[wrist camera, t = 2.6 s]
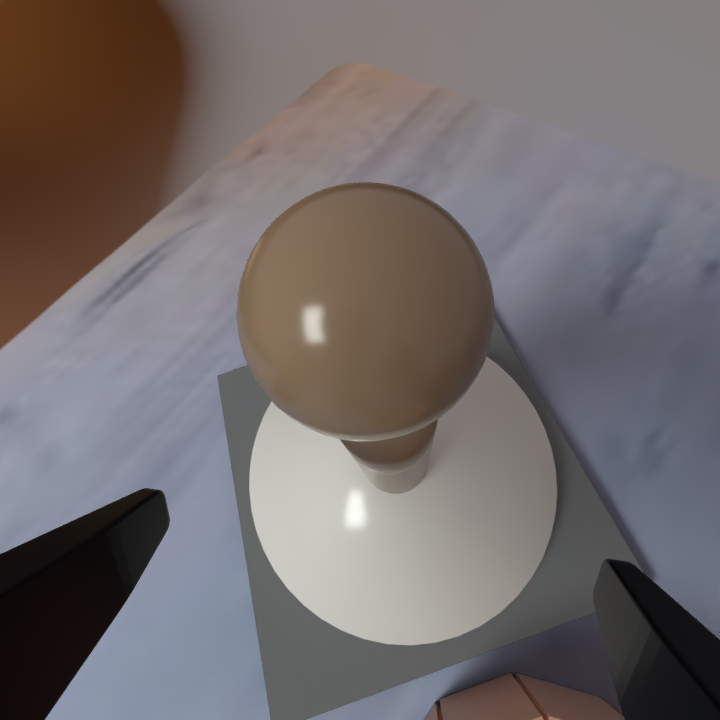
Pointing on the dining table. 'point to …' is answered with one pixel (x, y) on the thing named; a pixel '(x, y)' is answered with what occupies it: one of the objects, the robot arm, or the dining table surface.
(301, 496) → the peg stand
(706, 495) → the dining table surface
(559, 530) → the mat
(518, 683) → the bowl
